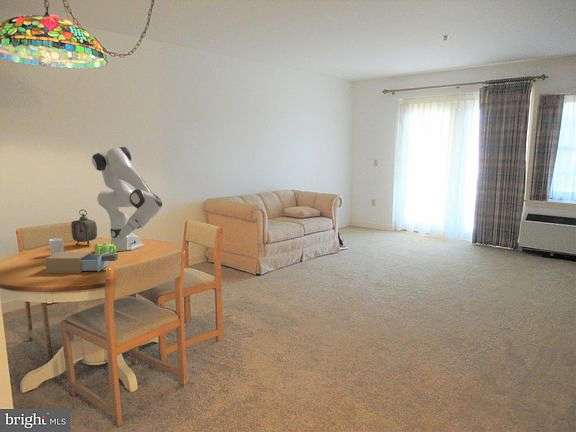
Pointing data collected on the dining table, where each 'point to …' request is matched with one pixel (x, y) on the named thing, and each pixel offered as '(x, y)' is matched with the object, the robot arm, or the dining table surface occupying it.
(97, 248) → the teapot
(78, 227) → the tabletop clock
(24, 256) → the dining table surface
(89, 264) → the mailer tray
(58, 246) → the white cup
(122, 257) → the dining table surface
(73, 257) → the sleeve
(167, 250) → the dining table surface
